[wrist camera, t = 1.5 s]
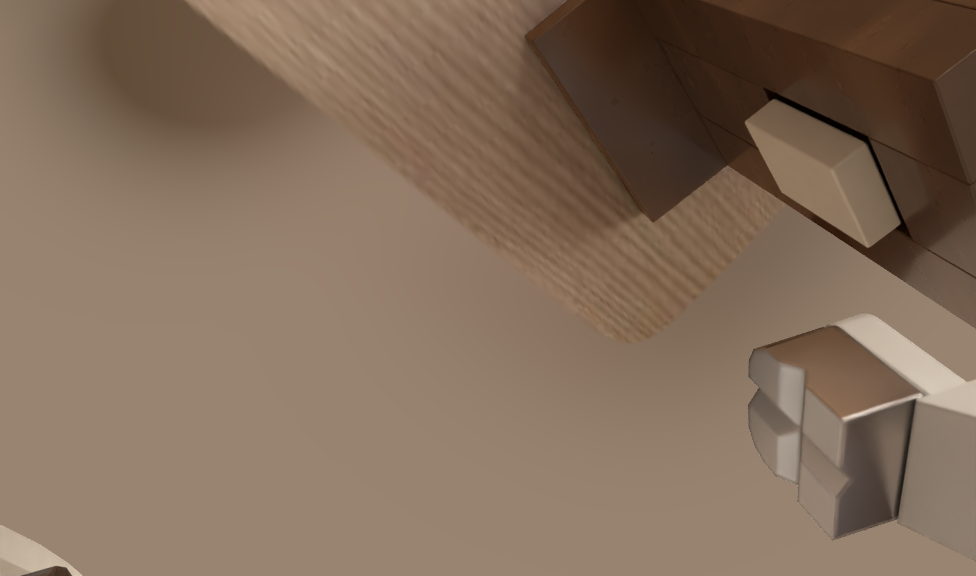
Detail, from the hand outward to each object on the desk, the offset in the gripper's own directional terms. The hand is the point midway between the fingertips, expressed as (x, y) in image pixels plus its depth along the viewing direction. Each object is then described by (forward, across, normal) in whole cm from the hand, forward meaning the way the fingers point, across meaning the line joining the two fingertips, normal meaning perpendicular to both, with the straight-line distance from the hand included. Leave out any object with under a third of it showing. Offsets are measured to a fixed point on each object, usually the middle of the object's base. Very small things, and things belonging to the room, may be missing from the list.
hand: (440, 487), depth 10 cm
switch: (+15, +14, -4) cm, 21 cm away
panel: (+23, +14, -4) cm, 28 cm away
